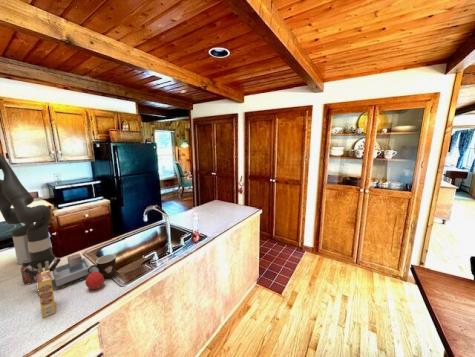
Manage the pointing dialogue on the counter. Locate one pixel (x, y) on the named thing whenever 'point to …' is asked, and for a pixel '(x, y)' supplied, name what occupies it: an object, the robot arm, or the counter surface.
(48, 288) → the candy box
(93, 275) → the tomato
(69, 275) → the grey shallow tray
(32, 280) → the supplement bottle
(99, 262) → the coffee mug
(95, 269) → the runner mat
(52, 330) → the counter surface
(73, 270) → the steel block
